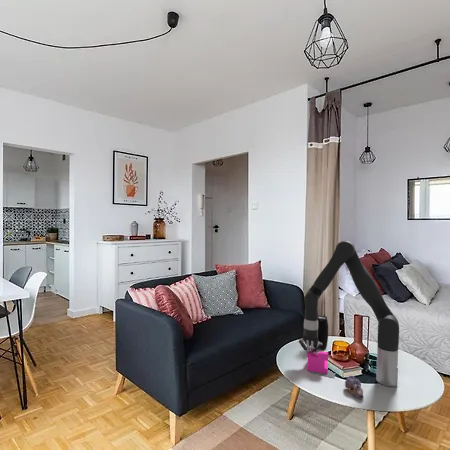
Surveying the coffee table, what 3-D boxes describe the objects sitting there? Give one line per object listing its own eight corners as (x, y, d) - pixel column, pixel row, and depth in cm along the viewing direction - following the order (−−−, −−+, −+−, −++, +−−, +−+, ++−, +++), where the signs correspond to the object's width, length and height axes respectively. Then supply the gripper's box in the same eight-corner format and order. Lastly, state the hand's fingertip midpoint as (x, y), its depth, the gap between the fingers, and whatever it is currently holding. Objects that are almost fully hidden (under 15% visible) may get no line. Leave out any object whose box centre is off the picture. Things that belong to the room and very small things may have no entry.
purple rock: (367, 401, 142) (368, 388, 142) (349, 400, 143) (350, 386, 143) (359, 387, 154) (359, 374, 154) (343, 386, 155) (343, 373, 155)
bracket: (327, 373, 166) (328, 354, 166) (307, 370, 169) (307, 351, 169) (327, 363, 177) (327, 345, 177) (308, 360, 180) (308, 342, 180)
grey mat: (336, 366, 175) (336, 366, 175) (334, 378, 162) (334, 377, 162) (314, 362, 179) (314, 361, 179) (310, 373, 167) (310, 372, 167)
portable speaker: (310, 345, 203) (310, 314, 202) (323, 344, 204) (324, 314, 204) (316, 350, 194) (317, 319, 194) (330, 349, 196) (331, 318, 196)
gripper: (324, 327, 175) (323, 358, 175) (300, 323, 180) (299, 353, 181) (322, 331, 168) (321, 363, 168) (297, 327, 173) (296, 358, 174)
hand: (309, 358), depth 175 cm, fingers closed
